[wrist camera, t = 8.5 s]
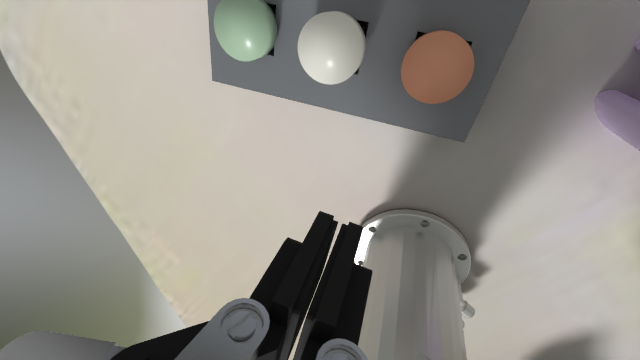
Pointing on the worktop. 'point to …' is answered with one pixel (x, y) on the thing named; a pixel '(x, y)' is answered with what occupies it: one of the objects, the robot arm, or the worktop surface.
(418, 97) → the terracotta button
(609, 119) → the clip
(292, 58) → the button panel
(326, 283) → the robot arm
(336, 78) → the ivory button
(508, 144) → the worktop surface
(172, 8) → the worktop surface
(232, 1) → the sage button
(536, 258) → the worktop surface
